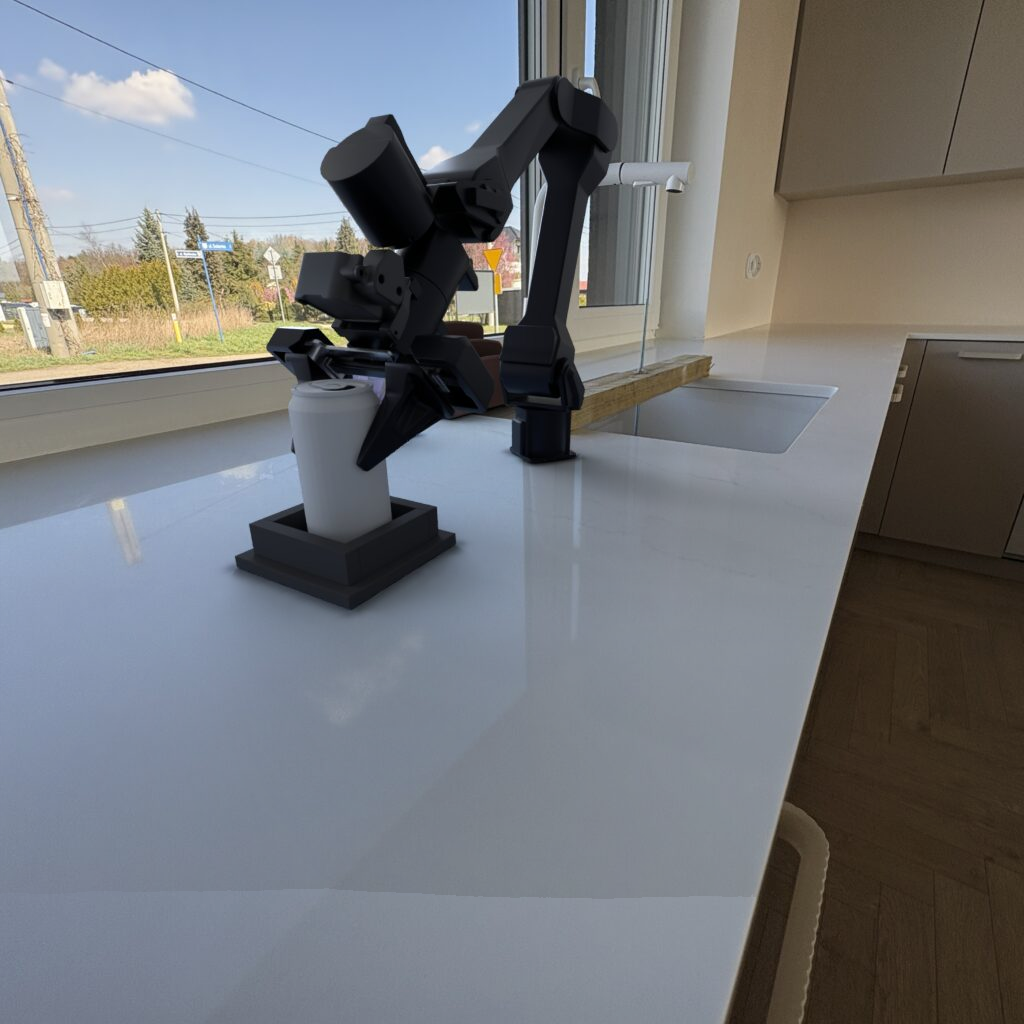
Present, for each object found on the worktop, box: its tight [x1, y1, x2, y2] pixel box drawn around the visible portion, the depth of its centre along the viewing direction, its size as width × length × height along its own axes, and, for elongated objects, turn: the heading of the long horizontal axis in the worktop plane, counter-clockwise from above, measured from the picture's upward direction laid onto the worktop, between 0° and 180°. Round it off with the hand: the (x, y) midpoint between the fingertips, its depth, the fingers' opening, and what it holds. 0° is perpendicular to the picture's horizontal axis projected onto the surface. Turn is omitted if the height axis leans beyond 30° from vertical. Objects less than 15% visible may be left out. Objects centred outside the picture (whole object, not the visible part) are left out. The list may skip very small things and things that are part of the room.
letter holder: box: [443, 320, 506, 420], centre depth 97 cm, size 10×20×14 cm, turn 143°
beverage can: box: [287, 379, 392, 544], centre depth 42 cm, size 6×6×12 cm
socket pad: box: [234, 495, 457, 610], centre depth 45 cm, size 12×12×4 cm
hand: (327, 461), depth 41 cm, fingers closed on beverage can, 6 cm apart
